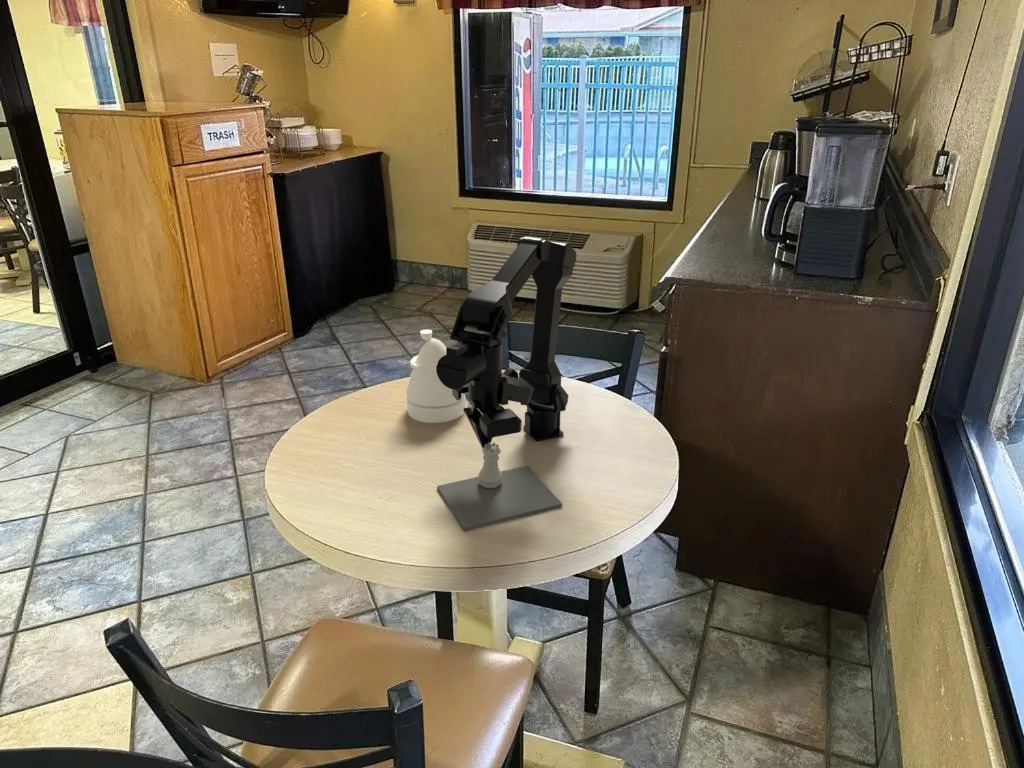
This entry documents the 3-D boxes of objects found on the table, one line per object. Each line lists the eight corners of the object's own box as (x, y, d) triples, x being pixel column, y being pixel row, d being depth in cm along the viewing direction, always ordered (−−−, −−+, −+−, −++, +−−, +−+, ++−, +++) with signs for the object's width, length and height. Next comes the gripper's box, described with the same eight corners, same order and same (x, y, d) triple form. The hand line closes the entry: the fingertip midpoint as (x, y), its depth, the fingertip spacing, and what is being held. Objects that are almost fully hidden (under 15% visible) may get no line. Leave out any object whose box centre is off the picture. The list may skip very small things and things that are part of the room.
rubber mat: (528, 468, 136) (528, 465, 135) (561, 506, 124) (562, 503, 124) (437, 488, 129) (437, 485, 129) (464, 531, 117) (463, 528, 117)
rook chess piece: (493, 493, 127) (495, 457, 123) (472, 483, 129) (473, 447, 125) (506, 480, 130) (509, 444, 126) (486, 471, 132) (488, 435, 128)
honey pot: (395, 413, 157) (389, 336, 150) (433, 392, 167) (429, 319, 159) (440, 428, 150) (436, 348, 143) (477, 406, 160) (475, 330, 153)
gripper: (551, 381, 117) (548, 464, 123) (507, 343, 133) (507, 419, 139) (487, 392, 113) (488, 477, 119) (450, 352, 129) (452, 429, 135)
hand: (485, 448), depth 128 cm, fingers closed
